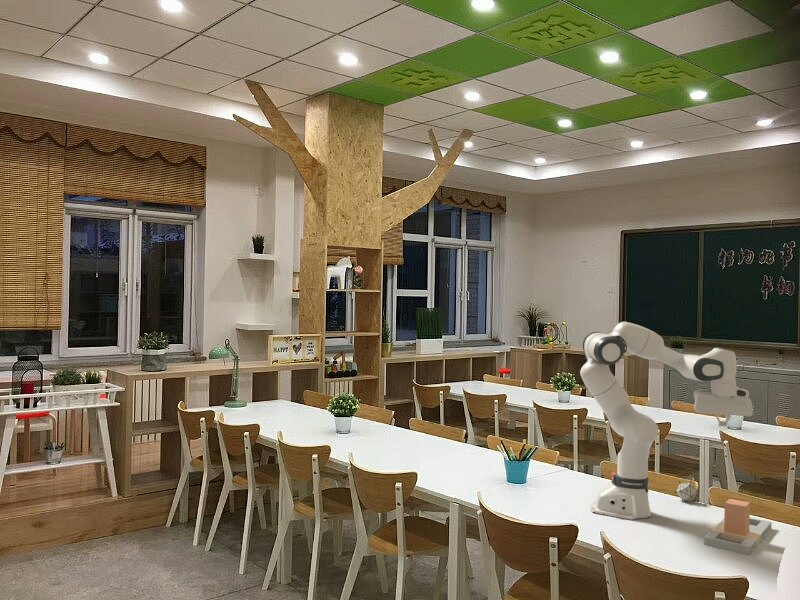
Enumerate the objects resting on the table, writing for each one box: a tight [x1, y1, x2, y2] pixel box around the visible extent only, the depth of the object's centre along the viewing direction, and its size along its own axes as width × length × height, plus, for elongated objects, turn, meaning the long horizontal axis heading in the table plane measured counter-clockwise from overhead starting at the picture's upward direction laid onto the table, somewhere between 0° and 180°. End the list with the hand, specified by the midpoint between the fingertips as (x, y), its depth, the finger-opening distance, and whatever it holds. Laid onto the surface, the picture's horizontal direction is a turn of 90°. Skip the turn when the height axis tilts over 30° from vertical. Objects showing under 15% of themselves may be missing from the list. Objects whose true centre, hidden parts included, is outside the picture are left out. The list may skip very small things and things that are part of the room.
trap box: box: [703, 517, 772, 556], centre depth 235 cm, size 34×14×2 cm, turn 141°
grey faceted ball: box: [673, 480, 700, 503], centre depth 276 cm, size 9×8×10 cm
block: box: [723, 498, 751, 536], centre depth 233 cm, size 6×6×10 cm
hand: (722, 426), depth 259 cm, fingers closed
